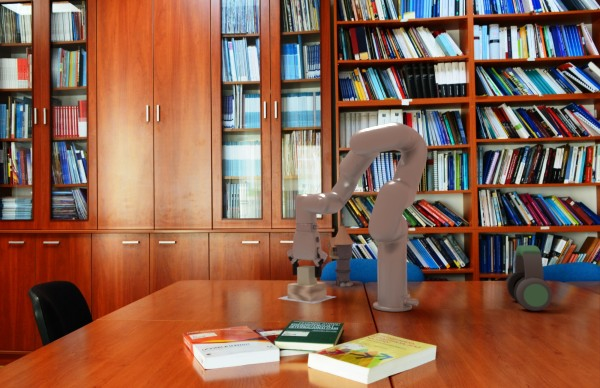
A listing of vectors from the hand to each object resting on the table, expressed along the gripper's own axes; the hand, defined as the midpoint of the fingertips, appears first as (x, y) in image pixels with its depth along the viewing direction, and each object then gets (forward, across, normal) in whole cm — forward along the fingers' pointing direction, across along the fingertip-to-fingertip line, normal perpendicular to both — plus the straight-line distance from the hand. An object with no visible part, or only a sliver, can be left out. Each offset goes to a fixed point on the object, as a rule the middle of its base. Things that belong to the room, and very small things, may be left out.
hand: (306, 276), depth 179 cm
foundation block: (+8, 0, 0) cm, 8 cm away
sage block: (+3, 0, 0) cm, 3 cm away
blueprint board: (+8, 0, 0) cm, 8 cm away
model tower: (+9, +5, -32) cm, 34 cm away
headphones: (+9, -67, -32) cm, 75 cm away
